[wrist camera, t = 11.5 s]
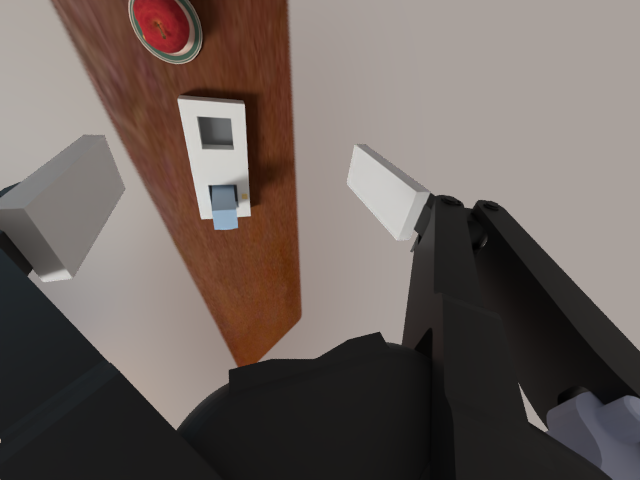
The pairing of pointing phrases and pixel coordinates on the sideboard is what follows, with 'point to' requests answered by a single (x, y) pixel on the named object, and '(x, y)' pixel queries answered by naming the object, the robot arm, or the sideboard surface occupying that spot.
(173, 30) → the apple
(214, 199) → the plug
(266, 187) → the sideboard surface
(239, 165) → the panel
